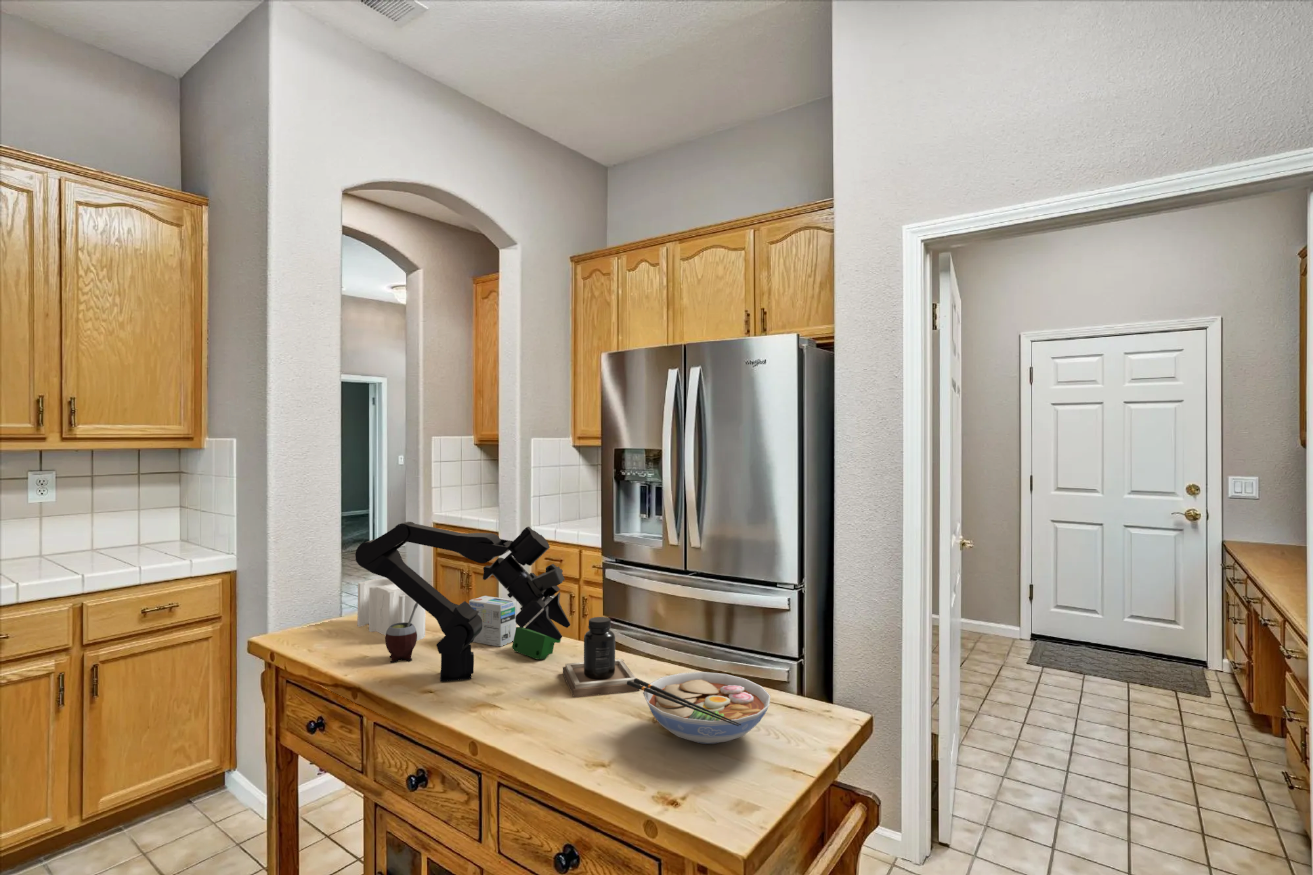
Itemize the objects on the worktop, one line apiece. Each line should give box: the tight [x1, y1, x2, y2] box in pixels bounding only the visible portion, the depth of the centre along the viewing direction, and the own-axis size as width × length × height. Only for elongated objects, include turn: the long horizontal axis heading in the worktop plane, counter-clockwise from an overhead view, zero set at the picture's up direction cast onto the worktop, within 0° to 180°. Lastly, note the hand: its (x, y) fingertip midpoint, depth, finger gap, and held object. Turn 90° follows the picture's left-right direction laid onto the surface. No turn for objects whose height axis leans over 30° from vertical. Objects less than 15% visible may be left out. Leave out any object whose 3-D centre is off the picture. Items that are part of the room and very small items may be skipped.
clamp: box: [512, 626, 562, 660], centre depth 161 cm, size 12×6×9 cm, turn 43°
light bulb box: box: [468, 595, 517, 647], centre depth 169 cm, size 11×7×11 cm, turn 65°
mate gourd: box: [384, 603, 418, 664], centre depth 155 cm, size 8×8×15 cm
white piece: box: [356, 578, 426, 641], centre depth 177 cm, size 25×10×12 cm, turn 48°
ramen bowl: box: [627, 671, 771, 745], centre depth 117 cm, size 25×23×8 cm
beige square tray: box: [562, 658, 641, 698], centre depth 142 cm, size 14×14×2 cm
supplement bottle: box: [583, 616, 616, 679], centre depth 142 cm, size 7×7×12 cm
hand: (564, 632), depth 143 cm, fingers open, 9 cm apart
